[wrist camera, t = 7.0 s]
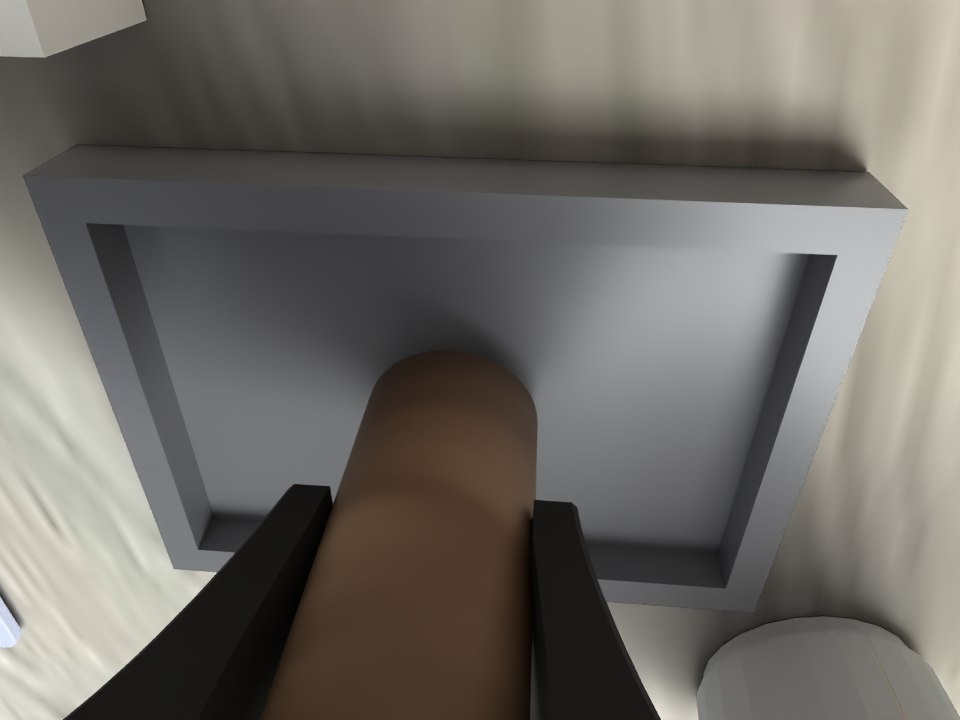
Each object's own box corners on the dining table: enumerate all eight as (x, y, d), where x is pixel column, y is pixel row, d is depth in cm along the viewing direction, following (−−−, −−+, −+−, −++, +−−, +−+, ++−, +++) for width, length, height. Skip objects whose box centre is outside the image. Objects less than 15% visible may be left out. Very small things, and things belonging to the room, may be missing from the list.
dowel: (380, 478, 15) (263, 897, 9) (356, 349, 13) (185, 772, 7) (537, 482, 15) (528, 919, 9) (537, 350, 13) (524, 796, 7)
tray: (200, 519, 18) (174, 569, 17) (76, 144, 13) (22, 175, 11) (738, 557, 18) (753, 612, 16) (869, 171, 12) (908, 209, 10)
